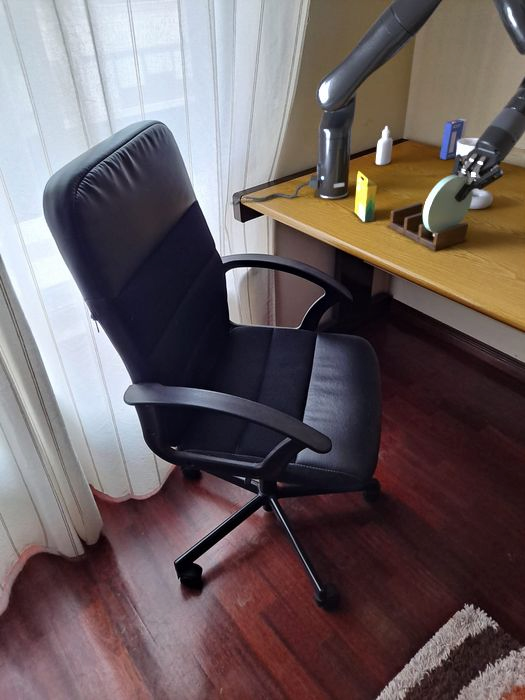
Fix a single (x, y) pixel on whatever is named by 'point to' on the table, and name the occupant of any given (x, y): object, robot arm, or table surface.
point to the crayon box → (365, 198)
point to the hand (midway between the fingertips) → (453, 198)
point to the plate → (446, 204)
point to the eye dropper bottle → (384, 148)
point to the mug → (466, 146)
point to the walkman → (452, 137)
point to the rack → (414, 223)
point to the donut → (481, 199)
